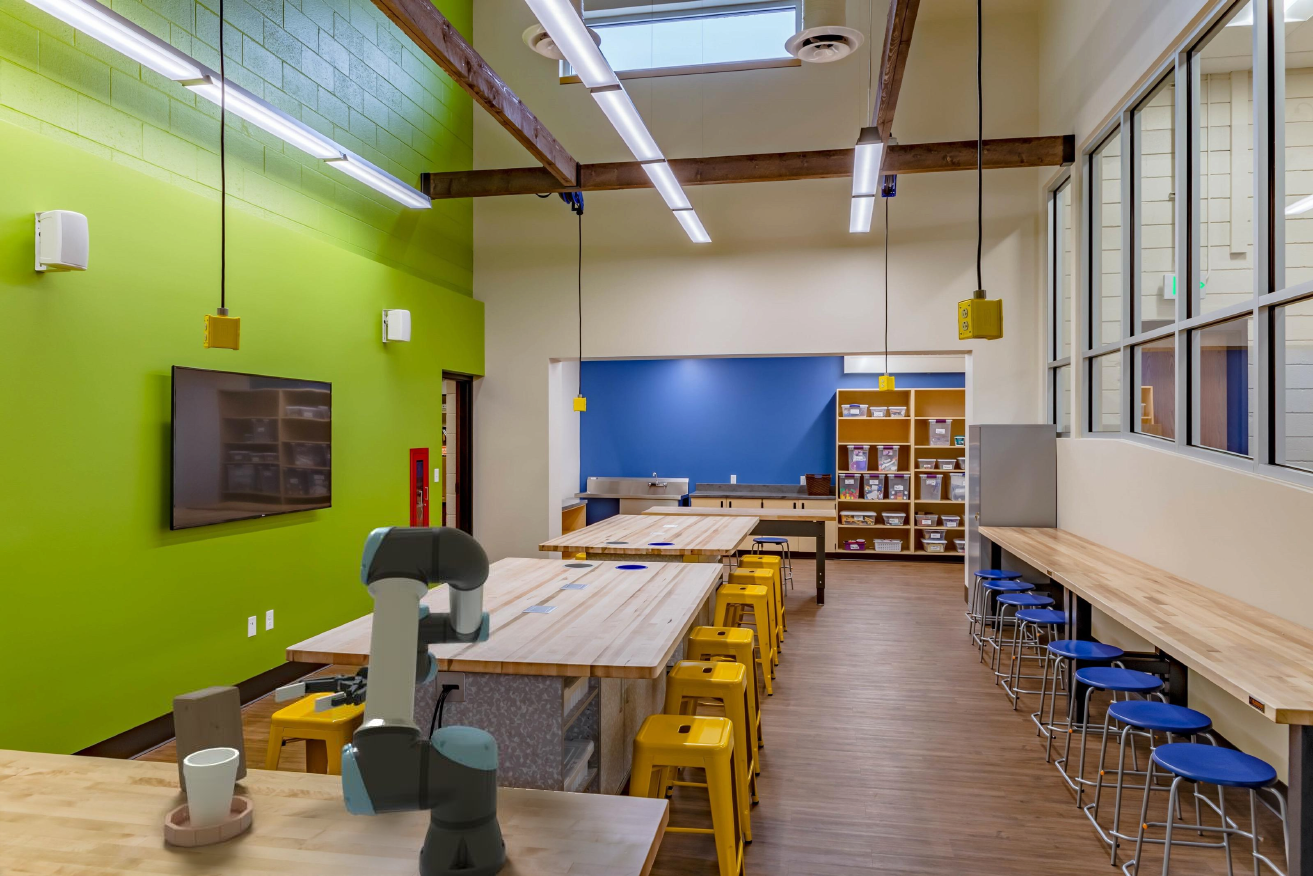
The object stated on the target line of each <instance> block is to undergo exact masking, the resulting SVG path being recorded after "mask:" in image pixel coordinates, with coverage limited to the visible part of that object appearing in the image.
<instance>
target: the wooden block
mask: <svg viewBox="0 0 1313 876" xmlns="http://www.w3.org/2000/svg"><path fill="white" fill-rule="evenodd" d="M240 697H241V696H240V689H239V688H238V686H225V685H224V686H223V685H222V686H220V685H219V686H218V685H217V686H216V685H214V686H210V687H207V688H202V689H199V690H196V691H192V692H188V693H185V694H181V695H177V696H176V697H174V698H173V699H172V712H173V722H174V723H173V724H174V733H175V735H174V736H175V746H176V747H175V748H176V754H177V755H176V757H177V767H178V768H177V769H178V779H179V787H180V790H182V791H186V792H187V790H186V781H185V776H184V773H183V763H184V759H185V758H186V757H187V756H189V755H191V754H193V753H196V752H199V751H203V750H207V749H214V748H232V749H236V750H238V752H239V766H238V767H237V773H236V779H235V783H236V782H238V781H241V780H243V779H245V778H246V777H247V775H248V773H247V771H248V770H247V762H246V761H247V760H246V752H245V751H246V749H245V740H244V739H245V738H244V728H243V718H242V709H241V707H242V706H241V700H240V699H241V698H240Z"/></svg>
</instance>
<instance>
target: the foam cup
mask: <svg viewBox="0 0 1313 876" xmlns="http://www.w3.org/2000/svg"><path fill="white" fill-rule="evenodd" d="M238 766H239V752H238V750H236V749H232V748H214V749H207V750H203V751H199V752H196V753H193V754H191V755H189V756H187V757H186V758H185V759H184V763H183V773H184V776H185V781H186V790H187V791H186V796H187V803H188V806H189V814H190V823H191V828H199V827H205V826H211V825H217V824H220V823H223V822H226V821H228V819H229V815H230V809H231V803H232V797H233V796H234V789H235V784H236V782H235V779H236V773H237V767H238Z"/></svg>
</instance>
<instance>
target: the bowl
mask: <svg viewBox="0 0 1313 876" xmlns="http://www.w3.org/2000/svg"><path fill="white" fill-rule="evenodd" d="M186 803H187V804H186ZM186 803H184V804H180V805H179V806H177V807H176V808H174V809H173V810H172V811H169V813H167V814H166V816H165V820H164V831H163V834H164V835H163V836H164V837H165V838H164V839H165V841H166V842H167V843H168V844H169V845H171V846H175V847H182V848H198V847H205V846H210V845H211V846H212V845H216V844H219V843H223V842H225V841H228V840H231V839H233V838H235V837H237V836H239V835H241V834H243V832H245V831H247V830H248V829H249V827H250V826H251V824H252V822H253V800H251V799H249V798H247V797H245V796H243V795H233V797H232V803H231V809H230V815H229V819H228V821H226V822H223V823H220V824H217V825H211V826H205V827H199V828H191V823H190V814H189V806H188V802H186ZM183 813H185V816H184V818H183Z"/></svg>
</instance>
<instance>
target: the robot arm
mask: <svg viewBox="0 0 1313 876" xmlns="http://www.w3.org/2000/svg"><path fill="white" fill-rule="evenodd" d="M489 574H490V561H489V557H488V554H487V553H486V550H485V549H484V547H483V546H482V545H481V544H480V543H479V541H477V540H476V538H475V537H473V536H471V534H469V533H467V532H465V531H463V530H461V529H459V528H456V527H451V526H397V525H393V526H388V527H387V526H386V527H377V528H375V529H373V530H372V531H371V532H370V533H369V534H368V536H367V539H366V541H365V543H364V548H363V552H362V556H361V566H360V575H359V576H360V581H361V584H362V585H364V586H366V587H367V589H366V590H367V593H368V594H369V595H370V596H371V598H373V599H374V602H373V612H372V613H373V615H372V625H371V636H370V637H371V638H370V645H369V647H370V648H369V658H368V664H367V665H362V666H361V667H359V669H358V670H357V672H356V674H347V676H346V674H344V673H341V674H337V675H336V674H335V675H331V676H330V675H329V676H321V677H312V678H311V677H310V678H305V679H304V678H303V679H299V680H298V683H295V684H291V685H287V686H282V687H278V688H276V689H275V697H274V703H280V702H281V703H282V702H284V701H288V700H291V699H295V698H299V697H301V698H304V696H305V695H306V694H319V693H330V692H331V693H333V694H329V695H326V696H322V697H318V698H315V699H314V713H316V714H319V713H321V712H326V711H329V710H332V709H337V708H339V707H343V706H345V705H346V706H351V705H352V704H353V707H357V706H360V705H362V704H364V703H365V704H364V713H363V721H362V724H361V725H360V726H359V727H358V728H357V729H356V730H354V732H353V734H352V737H353V738H352V743H351V742H349V743H347V744H345V745H344V746H343V747H342V749H341V752H342V753H341V754H342V755H341V767H340V768H341V784H342V796H343V801H344V806H345V808H346V810H347V812H348V813H349V814H351V815H353V816H364V815H365V816H368V815H371V816H377V815H379V814H380V815H381V814H395V813H403V812H404V813H406V812H407V813H409V812H420V811H430V813H429V815H430V817H429V818H430V819H429V820H430V821H429V825H428V828H427V831H426V835H425V838H424V841H423V842H424V843H423V846H422V847H421V849H420V851H419V857H418V859H419V860H418V871H419V874H420V876H494V875H496V874H497V873H499V872H500V871H501V870H502V868H504V866H505V864H506V857H507V856H506V852H507V848H506V842H505V840H504V839H503V835H502V830H501V827H500V824H499V821H498V816H497V815H498V814H497V808H498V807H497V805H498V767H499V763H500V760H499V759H498V753H499V752H498V743H497V740H496V739H495V737H494V736H493V735H492V734H491V733H489V732H488V731H484V729H480V728H477V727H472V726H466V725H465V726H464V725H449V726H446V727H441V728H438V729H436V730H435V731H434V732H433V733H432V735H431V737H430V739H421V736H422V735H421V733H422V732H421V731H422V730H421V729H420V727H419V726H417V724H415V722H414V709H415V708H414V705H415V689H416V687H419V686H421V685H423V684H426V683H429V682H431V681H432V680H434V679H435V678H436V676H437V674H438V670H439V663H438V661H437V657H436V655H435V654H434V653H433V652H431V651H429V645H444V644H447V645H448V644H452V645H453V644H476V643H486V642H488V640H489V639H490V617H491V616H490V613H489V612H488V611H483V608H484V607H483V604H484V602H483V601H484V588H485V587H484V585H485V583H486V582H487V580H488V577H489ZM432 584H433V585H434V584H435V585H436V584H447V586H448V593H449V594H448V595H449V596H448V599H449V600H448V602H449V612H431V611H430V607H429V606H428V605H427V604H425V603H424V604H420V603H421V602H420V601H421V599H423V598H424V597H425V596H426V595H427V594H428V592H429V585H432Z"/></svg>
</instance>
